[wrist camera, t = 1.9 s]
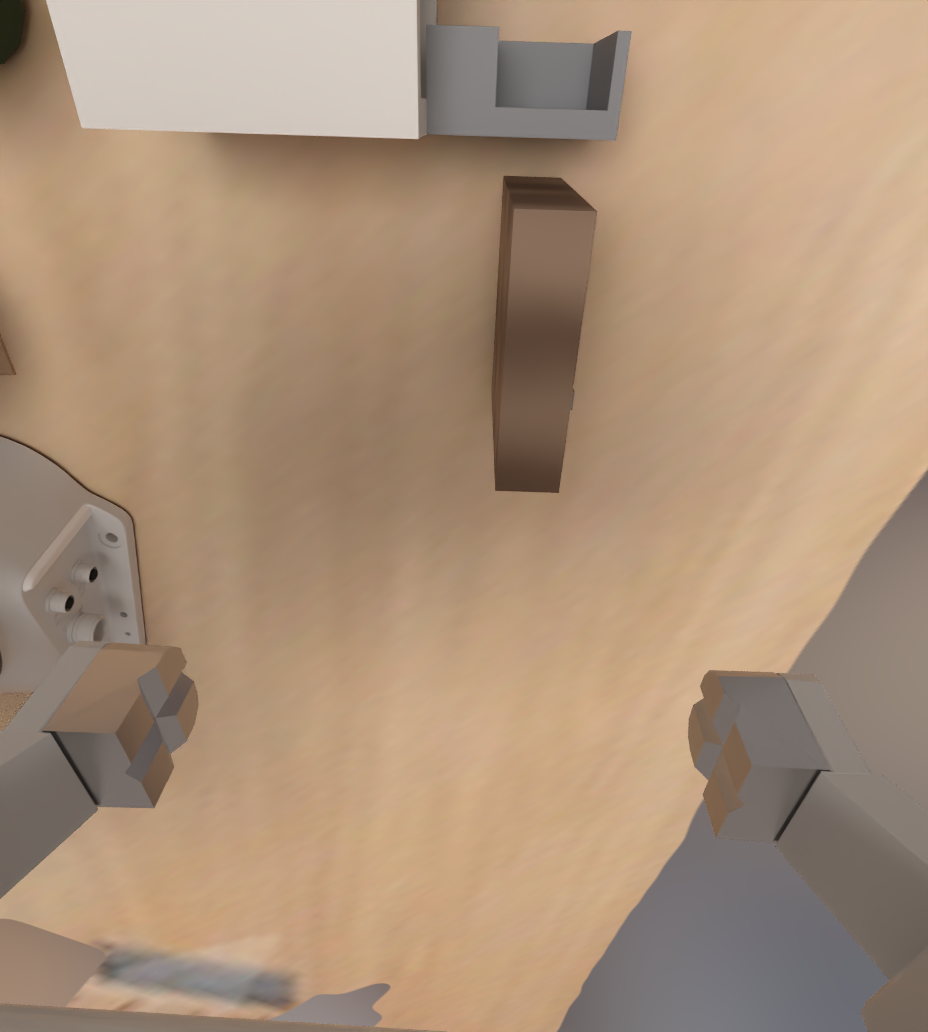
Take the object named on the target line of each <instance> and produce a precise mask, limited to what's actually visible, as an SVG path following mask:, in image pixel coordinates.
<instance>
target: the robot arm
mask: <svg viewBox="0 0 928 1032" xmlns="http://www.w3.org/2000/svg"><path fill="white" fill-rule="evenodd" d="M113 534H114V535H113ZM115 535H116V536H115ZM145 643H146V641H145V630H144V621H143V612H142V603H141V594H140V585H139V576H138V567H137V558H136V548H135V539H134V530H133V523H132V520H131V518H130V516H129V515H128V514H127V513H126V512H125V511H124V510H122V509H121V508H119V507H118V506H116V505H114V504H112V503H110V502H108V501H106V500H104V499H102V498H100V497H98V496H96V495H94V494H92V493H90V492H88V491H87V490H86V489H84V488H83V487H82V486H80V485H79V484H78V483H77V482H76V481H75V480H74V479H72V478H71V477H70V476H69V475H68V474H67V473H65V472H64V471H63V470H62V469H60V468H59V467H58V466H57V465H55V464H54V463H52V462H51V461H49V460H48V459H46V458H45V457H43V456H42V455H40V454H38V453H37V452H35V451H33V450H31V449H29V448H27V447H25V446H23V445H21V444H19V443H16V442H14V441H11V440H9V439H6V438H3V437H0V693H32V695H31V696H30V697H29V699H28V700H27V701H26V702H25V704H24V705H23V706H22V707H21V709H20V710H19V711H18V713H17V714H16V715H15V716H14V718H13V719H12V720H11V721H10V723H9V724H8V725H7V727H6V728H5V729H4V730H0V899H1V898H2V897H3V896H4V895H5V894H6V893H7V892H8V891H9V890H11V889H12V888H13V887H14V886H15V885H16V884H17V883H18V882H19V881H20V880H22V879H23V878H24V877H25V876H26V875H27V874H28V873H29V872H30V871H31V870H33V869H34V868H35V867H36V866H37V865H38V864H39V863H40V862H41V861H42V860H44V859H45V858H46V857H47V856H48V855H49V854H50V853H51V852H52V851H53V850H55V849H56V848H57V847H58V846H59V845H60V844H61V843H62V842H63V841H65V840H66V839H67V838H68V837H69V836H70V835H71V834H72V833H73V832H74V831H76V830H77V829H78V828H79V827H80V826H81V825H82V824H83V823H84V822H85V821H87V820H88V819H89V818H90V817H91V816H92V815H93V814H94V813H95V812H96V811H97V810H98V808H97V807H129V808H154V807H155V805H156V803H157V801H158V799H159V797H160V795H161V793H162V791H163V789H164V787H165V785H166V783H167V781H168V779H169V777H170V775H171V773H172V770H173V768H174V765H173V761H172V757H171V753H172V752H173V751H174V750H176V749H177V748H178V747H180V746H181V745H182V744H183V743H185V742H186V741H187V739H188V737H189V735H190V733H191V731H192V728H193V726H194V724H195V719H196V714H197V709H198V694H197V690H196V687H195V684H194V681H192V680H191V679H190V678H189V677H187V676H186V675H185V674H183V673H182V670H183V668H184V667H185V665H186V663H187V662H186V660H185V657H184V655H183V653H182V650H181V648H177V647H170V646H156V645H145ZM700 687H701V691H702V694H703V697H704V698H703V699H702V700H700V701H699V702H697V703H696V704H694V705H693V707H692V711H691V714H690V717H689V727H688V739H689V746H690V752H691V755H692V759H693V763H694V766H695V767H696V768H697V769H698V770H699V771H700V772H701V773H702V774H703V775H704V776H705V777H706V778H707V779H708V780H709V781H708V783H707V785H706V788H705V790H704V793H703V797H704V800H705V803H706V807H707V810H708V814H709V817H710V820H711V823H712V827H713V830H714V833H715V837H716V838H719V839H730V840H743V841H756V842H767V843H776V845H775V847H776V848H777V849H778V850H779V852H780V853H781V854H782V855H783V856H784V858H785V859H786V860H787V861H788V862H789V863H790V865H791V866H792V867H793V868H794V869H795V870H796V872H797V873H798V874H799V875H800V876H801V877H802V879H803V880H804V881H805V882H806V883H807V884H808V886H809V887H810V888H811V889H812V890H813V891H814V893H815V894H816V895H817V896H818V897H819V899H820V900H821V901H822V902H823V903H824V904H825V906H826V907H827V908H828V909H829V910H830V911H831V912H832V914H833V915H834V916H835V917H836V918H837V920H838V921H839V922H840V923H841V924H842V925H843V927H844V928H845V929H846V930H847V931H848V932H849V934H850V935H851V936H852V937H853V938H854V939H855V941H856V942H857V943H858V944H859V945H860V946H861V948H862V949H863V950H864V951H865V952H866V954H867V955H868V956H869V957H870V958H871V959H872V961H874V963H875V964H876V965H877V966H878V968H879V969H880V970H881V971H882V972H883V973H884V975H885V976H886V977H887V978H888V979H889V981H888V982H887V983H886V984H885V985H884V986H883V987H882V988H881V989H880V990H878V991H877V992H876V993H875V994H874V995H873V996H872V997H871V998H869V999H868V1000H867V1001H866V1003H865V1005H864V1007H863V1009H862V1010H861V1015H862V1018H863V1020H864V1023H865V1025H866V1027H867V1031H868V1032H928V810H927V809H926V808H925V807H923V806H922V805H921V804H920V803H918V802H917V801H916V800H914V799H913V798H912V797H911V796H909V795H908V794H907V793H905V792H904V791H903V790H902V789H901V788H899V787H898V786H897V785H895V784H894V783H893V782H892V781H890V780H889V779H888V778H886V777H885V776H884V775H881V774H872V773H871V771H870V769H869V768H868V766H867V764H866V762H865V760H864V759H863V757H862V756H861V753H860V752H859V750H858V748H857V746H856V744H855V743H854V741H853V739H852V737H851V736H850V734H849V732H848V730H847V728H846V727H845V725H844V723H843V721H842V720H841V718H840V716H839V714H838V712H837V711H836V709H835V707H834V705H833V704H832V702H831V700H830V698H829V696H828V695H827V693H826V691H825V689H824V687H823V686H822V684H821V682H820V680H818V679H817V678H816V677H815V676H814V675H811V674H790V673H773V672H748V671H718V670H710V671H708V672H707V673H706V674H705V675H704V678H703V680H702V683H701V685H700ZM0 1032H445V1031H429V1030H413V1029H398V1028H382V1027H366V1026H351V1025H335V1024H319V1023H303V1022H288V1021H272V1020H257V1019H241V1018H226V1017H210V1016H194V1015H179V1014H163V1013H147V1012H132V1011H116V1010H100V1009H85V1008H69V1007H53V1006H37V1005H21V1004H7V1003H0Z"/></svg>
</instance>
